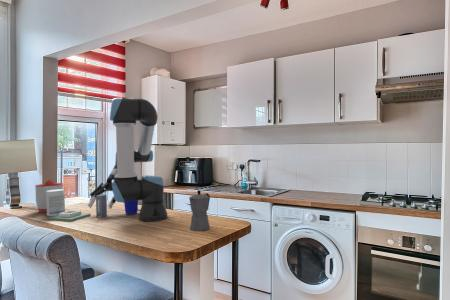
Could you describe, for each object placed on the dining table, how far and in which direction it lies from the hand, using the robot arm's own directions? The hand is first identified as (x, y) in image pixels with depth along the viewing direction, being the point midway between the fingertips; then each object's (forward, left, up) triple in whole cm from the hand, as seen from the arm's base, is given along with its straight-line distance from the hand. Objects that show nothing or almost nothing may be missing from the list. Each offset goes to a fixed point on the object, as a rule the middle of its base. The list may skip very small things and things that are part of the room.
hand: (99, 207), depth 172 cm
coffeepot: (-67, +9, -6) cm, 68 cm away
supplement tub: (+30, +2, -6) cm, 31 cm away
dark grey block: (0, -2, -5) cm, 6 cm away
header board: (+15, +6, -5) cm, 17 cm away
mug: (-15, -12, -6) cm, 20 cm away
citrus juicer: (+45, -7, -6) cm, 46 cm away
